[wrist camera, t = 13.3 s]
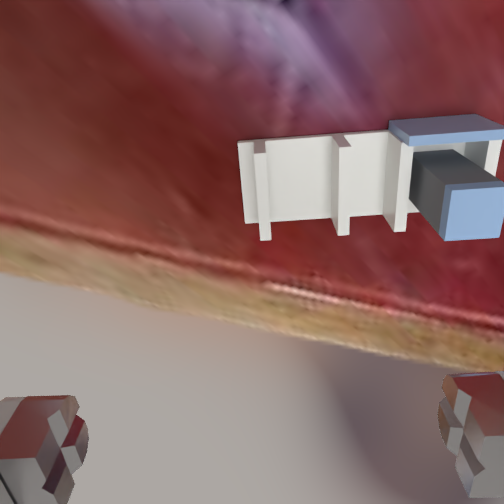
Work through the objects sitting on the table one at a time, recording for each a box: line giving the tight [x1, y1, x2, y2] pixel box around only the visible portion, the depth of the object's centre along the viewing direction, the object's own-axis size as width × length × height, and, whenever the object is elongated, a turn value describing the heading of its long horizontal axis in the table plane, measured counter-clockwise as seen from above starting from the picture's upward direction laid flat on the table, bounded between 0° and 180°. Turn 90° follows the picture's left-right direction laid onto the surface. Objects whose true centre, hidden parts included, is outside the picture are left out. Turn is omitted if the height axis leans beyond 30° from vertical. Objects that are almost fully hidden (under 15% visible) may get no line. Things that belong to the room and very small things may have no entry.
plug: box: [409, 149, 504, 241], centre depth 36 cm, size 4×4×10 cm
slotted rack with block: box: [238, 114, 504, 241], centre depth 38 cm, size 23×9×6 cm, turn 94°
